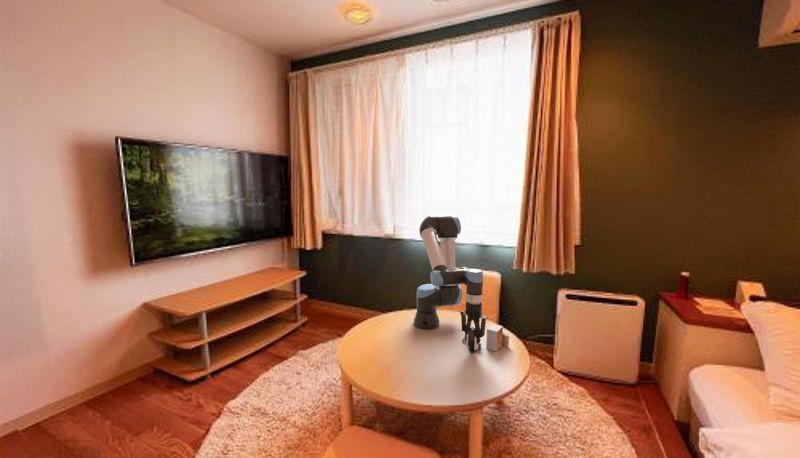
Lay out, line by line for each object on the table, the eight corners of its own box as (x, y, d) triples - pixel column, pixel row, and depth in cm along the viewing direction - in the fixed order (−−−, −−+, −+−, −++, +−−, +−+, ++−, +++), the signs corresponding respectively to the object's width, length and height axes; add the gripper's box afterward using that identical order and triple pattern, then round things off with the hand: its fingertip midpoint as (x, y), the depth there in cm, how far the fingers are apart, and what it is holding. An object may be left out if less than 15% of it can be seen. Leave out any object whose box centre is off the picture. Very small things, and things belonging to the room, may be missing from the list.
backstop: (494, 341, 174) (494, 330, 173) (496, 340, 175) (496, 329, 174) (506, 347, 167) (507, 336, 167) (508, 346, 168) (509, 335, 167)
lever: (464, 337, 177) (464, 315, 175) (477, 338, 176) (478, 316, 174) (467, 354, 160) (468, 330, 158) (482, 355, 159) (483, 331, 157)
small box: (496, 351, 163) (497, 332, 162) (486, 348, 167) (486, 329, 165) (502, 345, 170) (503, 326, 168) (492, 342, 173) (492, 323, 171)
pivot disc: (458, 340, 175) (458, 339, 175) (469, 336, 180) (469, 335, 180) (469, 346, 169) (469, 345, 169) (480, 342, 173) (480, 341, 173)
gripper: (454, 299, 160) (453, 344, 163) (486, 308, 149) (484, 356, 152) (462, 295, 165) (461, 339, 169) (493, 303, 155) (491, 350, 158)
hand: (472, 347), depth 161 cm, fingers closed on lever, 4 cm apart
